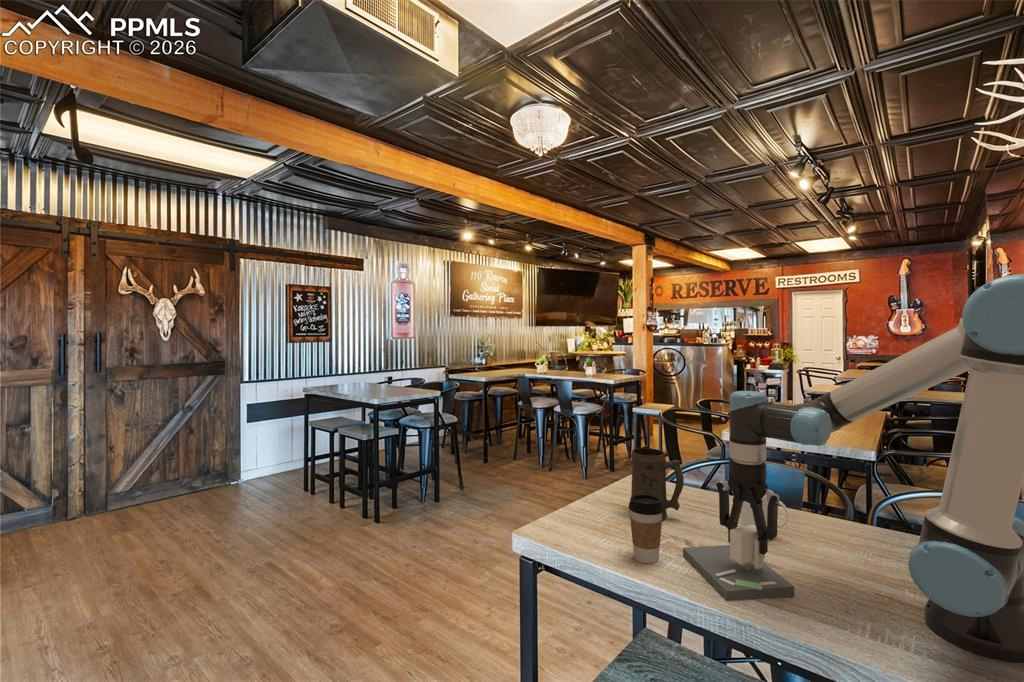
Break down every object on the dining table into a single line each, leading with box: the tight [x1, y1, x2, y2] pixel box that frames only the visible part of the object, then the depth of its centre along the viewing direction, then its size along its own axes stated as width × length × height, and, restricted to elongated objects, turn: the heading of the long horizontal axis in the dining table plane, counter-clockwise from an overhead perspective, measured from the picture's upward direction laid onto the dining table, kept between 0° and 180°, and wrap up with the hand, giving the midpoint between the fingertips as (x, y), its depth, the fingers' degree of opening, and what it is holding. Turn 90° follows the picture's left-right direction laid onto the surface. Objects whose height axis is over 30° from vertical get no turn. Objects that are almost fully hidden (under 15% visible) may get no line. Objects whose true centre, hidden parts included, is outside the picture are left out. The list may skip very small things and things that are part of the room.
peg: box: [715, 525, 766, 577], centre depth 108 cm, size 3×12×9 cm, turn 111°
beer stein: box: [629, 447, 685, 522], centre depth 145 cm, size 15×11×20 cm
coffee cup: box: [628, 494, 664, 565], centre depth 119 cm, size 8×8×15 cm
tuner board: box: [682, 544, 795, 601], centre depth 111 cm, size 20×15×2 cm
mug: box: [739, 489, 790, 542], centre depth 131 cm, size 12×8×12 cm
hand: (747, 562), depth 109 cm, fingers closed on peg, 4 cm apart
